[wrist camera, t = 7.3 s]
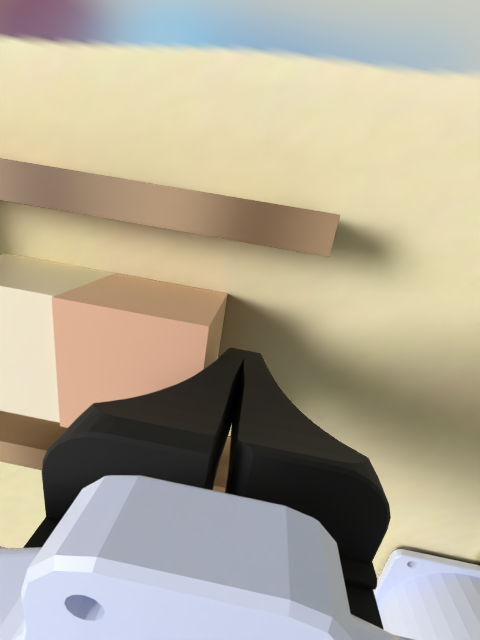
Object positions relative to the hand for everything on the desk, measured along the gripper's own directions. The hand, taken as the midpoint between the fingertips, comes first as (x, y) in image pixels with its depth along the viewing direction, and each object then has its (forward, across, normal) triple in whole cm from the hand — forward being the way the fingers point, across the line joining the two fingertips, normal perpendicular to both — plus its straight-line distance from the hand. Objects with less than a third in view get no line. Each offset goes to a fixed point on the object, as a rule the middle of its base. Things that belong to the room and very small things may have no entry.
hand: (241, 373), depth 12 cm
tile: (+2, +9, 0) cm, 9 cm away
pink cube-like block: (+2, +4, 0) cm, 4 cm away
